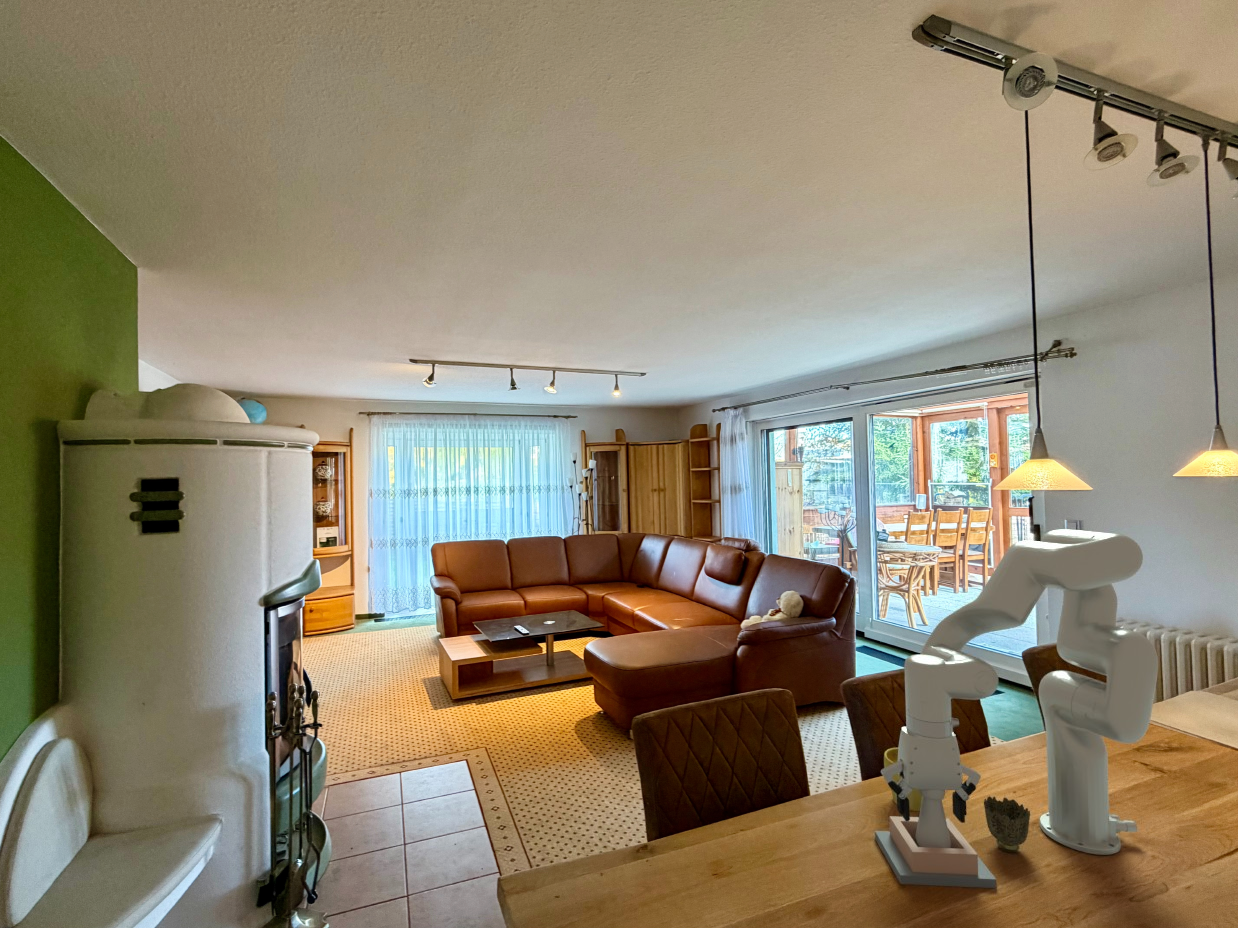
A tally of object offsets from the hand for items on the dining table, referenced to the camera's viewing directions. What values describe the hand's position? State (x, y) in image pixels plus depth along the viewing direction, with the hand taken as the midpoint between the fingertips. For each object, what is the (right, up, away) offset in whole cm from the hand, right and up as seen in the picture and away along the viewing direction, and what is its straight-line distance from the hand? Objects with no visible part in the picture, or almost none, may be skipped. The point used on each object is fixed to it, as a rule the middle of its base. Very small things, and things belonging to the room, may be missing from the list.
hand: (931, 817), depth 109 cm
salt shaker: (0, -7, 0) cm, 7 cm away
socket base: (0, -8, 0) cm, 8 cm away
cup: (+16, -8, +3) cm, 19 cm away
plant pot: (+6, -9, +19) cm, 22 cm away
